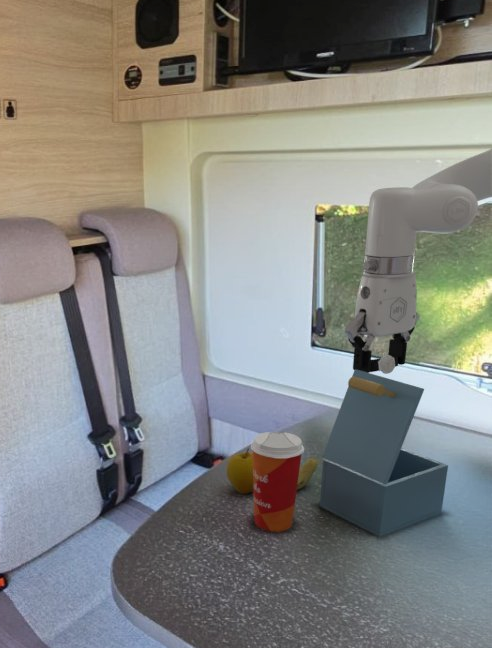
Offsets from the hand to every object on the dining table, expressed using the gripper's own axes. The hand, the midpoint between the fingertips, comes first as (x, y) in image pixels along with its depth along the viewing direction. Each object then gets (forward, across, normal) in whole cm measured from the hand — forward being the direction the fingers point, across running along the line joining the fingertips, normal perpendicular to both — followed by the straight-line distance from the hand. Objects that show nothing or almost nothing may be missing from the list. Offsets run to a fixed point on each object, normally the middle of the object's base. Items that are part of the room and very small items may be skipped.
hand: (378, 366), depth 126 cm
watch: (+1, 0, 0) cm, 1 cm away
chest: (+22, -8, -10) cm, 25 cm away
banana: (+22, -12, +4) cm, 25 cm away
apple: (+22, -22, +8) cm, 32 cm away
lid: (+5, -12, -10) cm, 16 cm away
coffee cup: (+22, -26, -4) cm, 34 cm away
